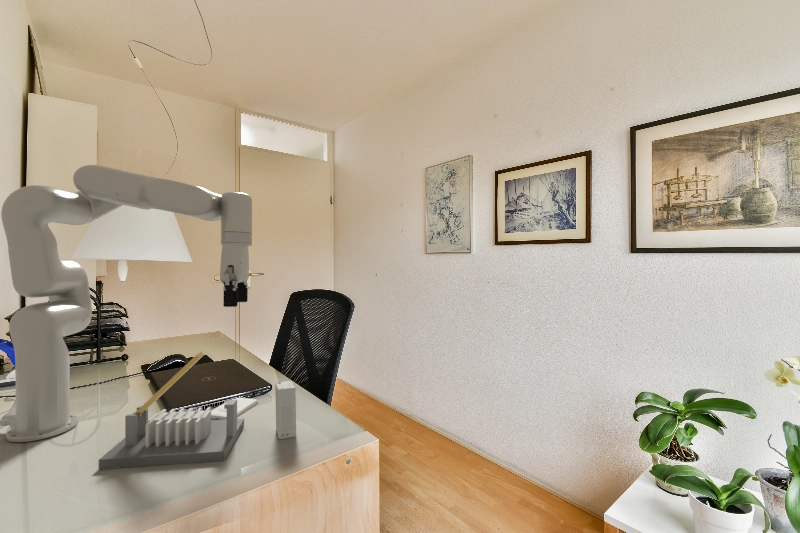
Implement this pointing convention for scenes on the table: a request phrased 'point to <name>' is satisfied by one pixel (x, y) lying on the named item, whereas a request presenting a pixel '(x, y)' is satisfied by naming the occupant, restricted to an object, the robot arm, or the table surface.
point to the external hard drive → (242, 406)
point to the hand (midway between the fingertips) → (236, 304)
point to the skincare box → (285, 409)
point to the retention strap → (168, 385)
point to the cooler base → (173, 452)
